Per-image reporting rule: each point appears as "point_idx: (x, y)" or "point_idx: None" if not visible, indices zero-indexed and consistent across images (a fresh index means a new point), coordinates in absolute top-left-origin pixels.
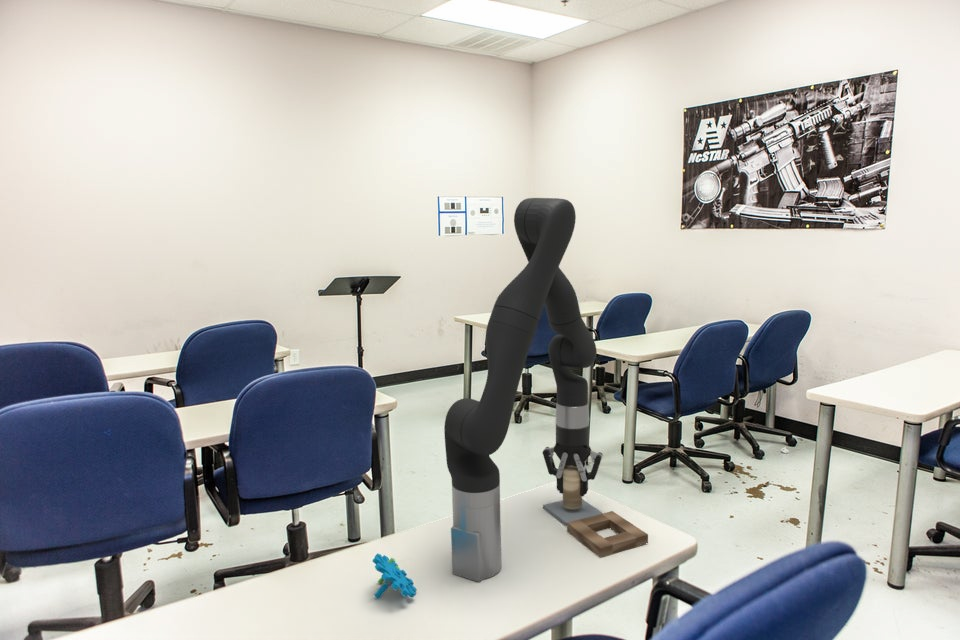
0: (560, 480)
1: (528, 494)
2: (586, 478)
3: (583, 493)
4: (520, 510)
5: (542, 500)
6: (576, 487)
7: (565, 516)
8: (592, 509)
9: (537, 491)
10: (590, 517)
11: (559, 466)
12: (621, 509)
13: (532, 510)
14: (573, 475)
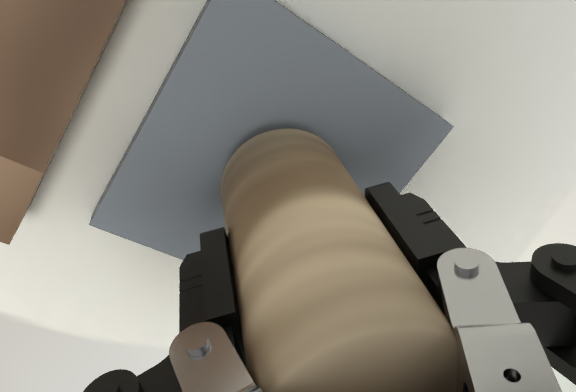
0: (425, 244)
1: (546, 210)
2: (172, 358)
3: (201, 244)
4: (560, 22)
5: (467, 194)
6: (256, 244)
7: (274, 61)
8: (169, 228)
9: (510, 256)
10: (73, 81)
11: (530, 345)
12: (59, 325)
13: (492, 61)
14: (307, 316)
